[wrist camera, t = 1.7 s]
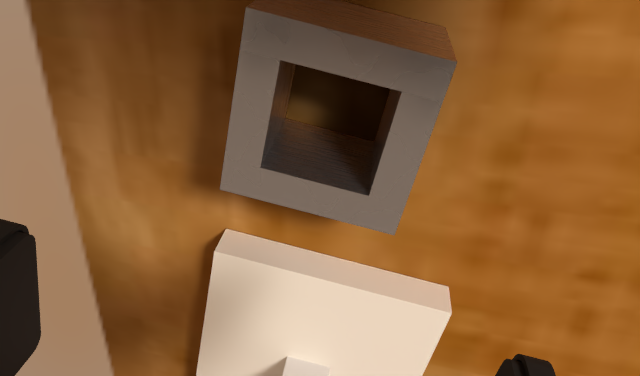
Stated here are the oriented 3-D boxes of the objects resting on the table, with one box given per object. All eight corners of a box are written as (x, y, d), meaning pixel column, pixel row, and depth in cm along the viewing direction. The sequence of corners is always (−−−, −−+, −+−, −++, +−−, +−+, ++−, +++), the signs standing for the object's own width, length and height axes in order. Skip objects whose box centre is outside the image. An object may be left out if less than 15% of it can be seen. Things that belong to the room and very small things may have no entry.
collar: (277, -17, 21) (245, 7, 17) (445, 27, 21) (457, 61, 17) (251, 137, 25) (219, 189, 20) (395, 175, 25) (394, 234, 20)
